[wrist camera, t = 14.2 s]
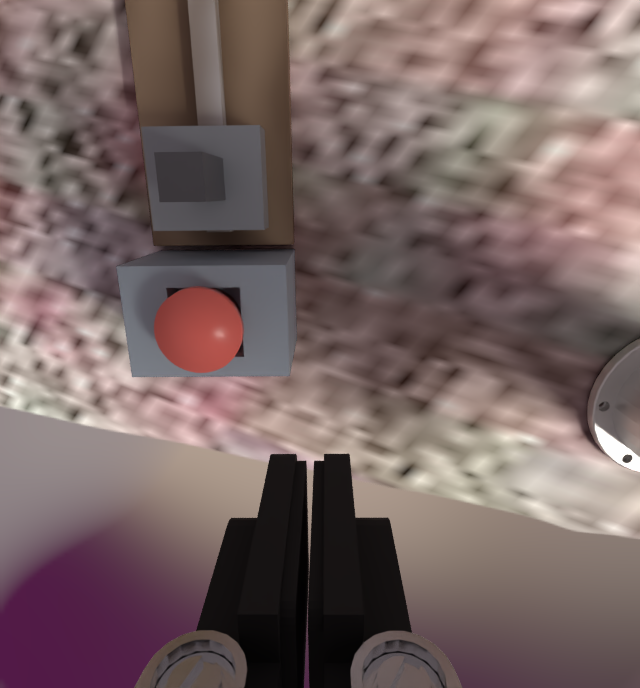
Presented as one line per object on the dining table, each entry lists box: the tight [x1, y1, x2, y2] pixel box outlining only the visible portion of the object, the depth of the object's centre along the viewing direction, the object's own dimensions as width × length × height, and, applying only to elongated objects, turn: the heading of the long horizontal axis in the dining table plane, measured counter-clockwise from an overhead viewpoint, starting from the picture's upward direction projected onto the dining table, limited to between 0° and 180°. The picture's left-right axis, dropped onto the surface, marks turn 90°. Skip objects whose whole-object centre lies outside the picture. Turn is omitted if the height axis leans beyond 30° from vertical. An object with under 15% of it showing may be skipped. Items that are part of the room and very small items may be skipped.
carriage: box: [141, 125, 269, 231], centre depth 28 cm, size 7×6×8 cm
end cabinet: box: [116, 249, 297, 377], centre depth 32 cm, size 10×7×8 cm
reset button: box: [154, 286, 244, 373], centre depth 29 cm, size 5×5×4 cm
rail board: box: [125, 0, 294, 246], centre depth 29 cm, size 10×24×4 cm, turn 1°
